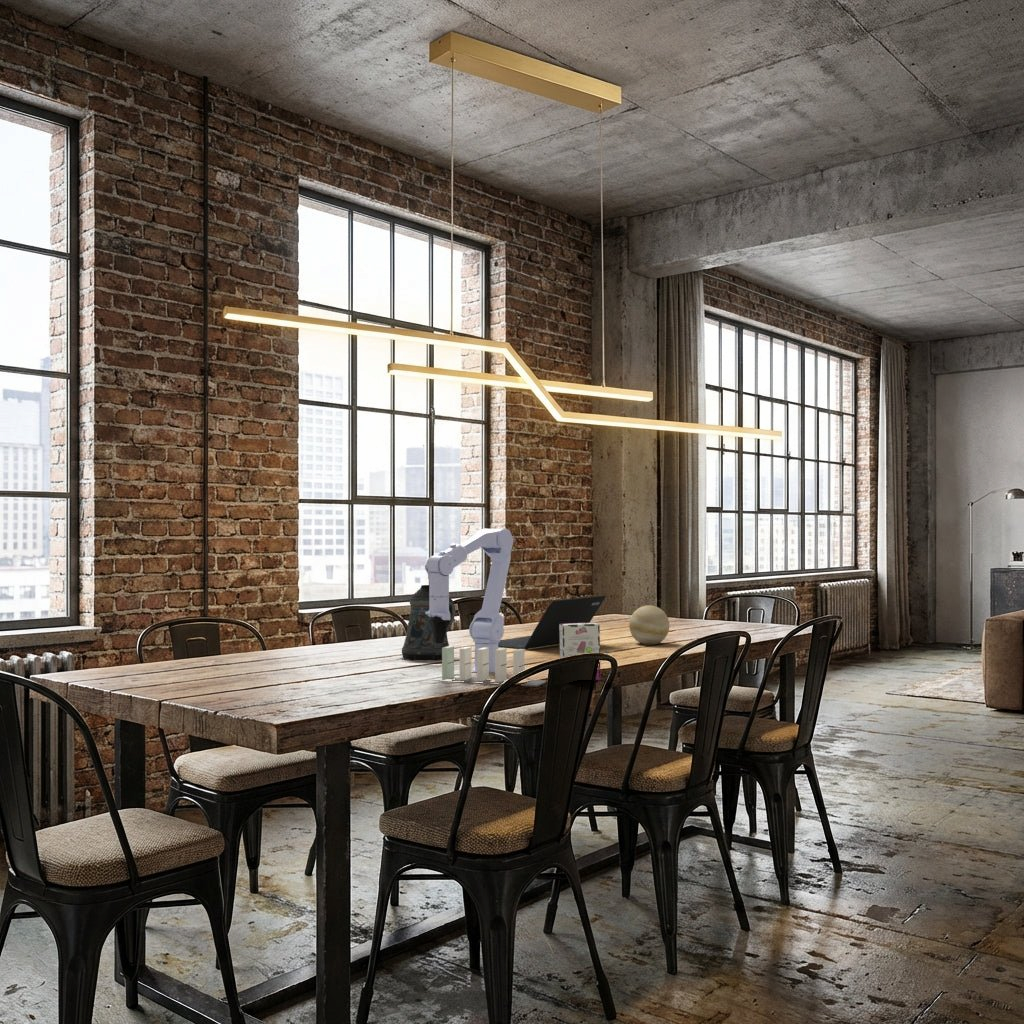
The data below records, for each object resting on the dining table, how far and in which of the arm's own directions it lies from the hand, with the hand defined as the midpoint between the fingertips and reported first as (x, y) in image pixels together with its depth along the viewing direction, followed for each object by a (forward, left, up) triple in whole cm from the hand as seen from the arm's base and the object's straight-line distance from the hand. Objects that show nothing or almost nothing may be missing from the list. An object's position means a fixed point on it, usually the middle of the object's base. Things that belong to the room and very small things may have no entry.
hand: (439, 643), depth 302 cm
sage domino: (+1, +3, -10) cm, 10 cm away
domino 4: (+10, +23, -10) cm, 27 cm away
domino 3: (+8, +18, -10) cm, 22 cm away
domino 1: (+3, +8, -10) cm, 13 cm away
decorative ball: (-81, +80, -11) cm, 114 cm away
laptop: (-81, +38, -11) cm, 91 cm away
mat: (+6, +13, -10) cm, 17 cm away
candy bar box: (+6, +41, -11) cm, 42 cm away
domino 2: (+6, +13, -10) cm, 17 cm away
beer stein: (-47, -3, -11) cm, 48 cm away
